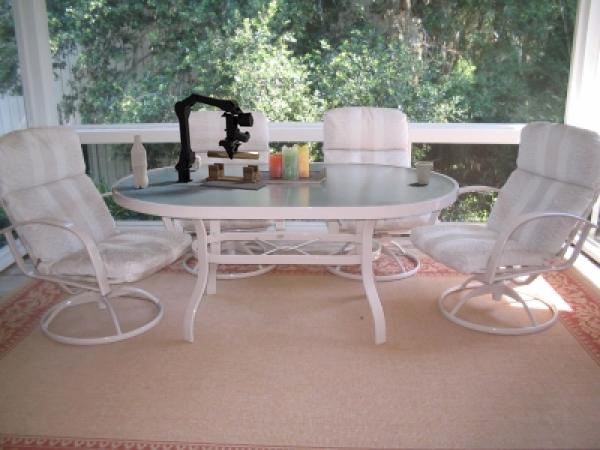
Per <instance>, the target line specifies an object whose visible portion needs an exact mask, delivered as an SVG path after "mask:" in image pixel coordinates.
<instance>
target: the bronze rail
mask: <svg viewBox="0 0 600 450" xmlns="http://www.w3.org/2000/svg"><path fill="white" fill-rule="evenodd" d="M206 155H207V158H209V159H230V158H229V156H228V154H227V152H226V150H211V149H210V150H207V152H206ZM235 159H237V160H252V161H253V160H254V161H255V160H256V161H257V160H260V152H258V151H257V152H256V151H237V152H236V151H233V159H232V160H235Z"/></svg>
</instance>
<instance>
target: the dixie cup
mask: <svg viewBox="0 0 600 450" xmlns="http://www.w3.org/2000/svg"><path fill="white" fill-rule="evenodd" d="M415 166H416V168H415V169H416V182H417V184H419V185H429V184H430V181H431V175H432V169H433V162H431V161H416V162H415Z"/></svg>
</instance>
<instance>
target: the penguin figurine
mask: <svg viewBox="0 0 600 450" xmlns="http://www.w3.org/2000/svg"><path fill="white" fill-rule="evenodd" d="M195 157H196V160H195V163H194V164H193V165H192V168H191V170H194V172H198V171H199V170H200V169H201V167H202V157H201V156H200V155H198V154H195Z"/></svg>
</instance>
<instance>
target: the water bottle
mask: <svg viewBox="0 0 600 450" xmlns="http://www.w3.org/2000/svg"><path fill="white" fill-rule="evenodd" d="M130 157H131V169H132V175H133V177H132V184H133V186H134V187H135V189H138V190H139V189H140V188H141V189H143V188H144V189H146V188H148V186H149V178H148V177H149V176H148V169H147V168H148V161H147V159H148V158H147V151H146V148H145V146H144V145H143V143H142V137H141V134H134V135H133V145H132V147H131V150H130Z"/></svg>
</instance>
